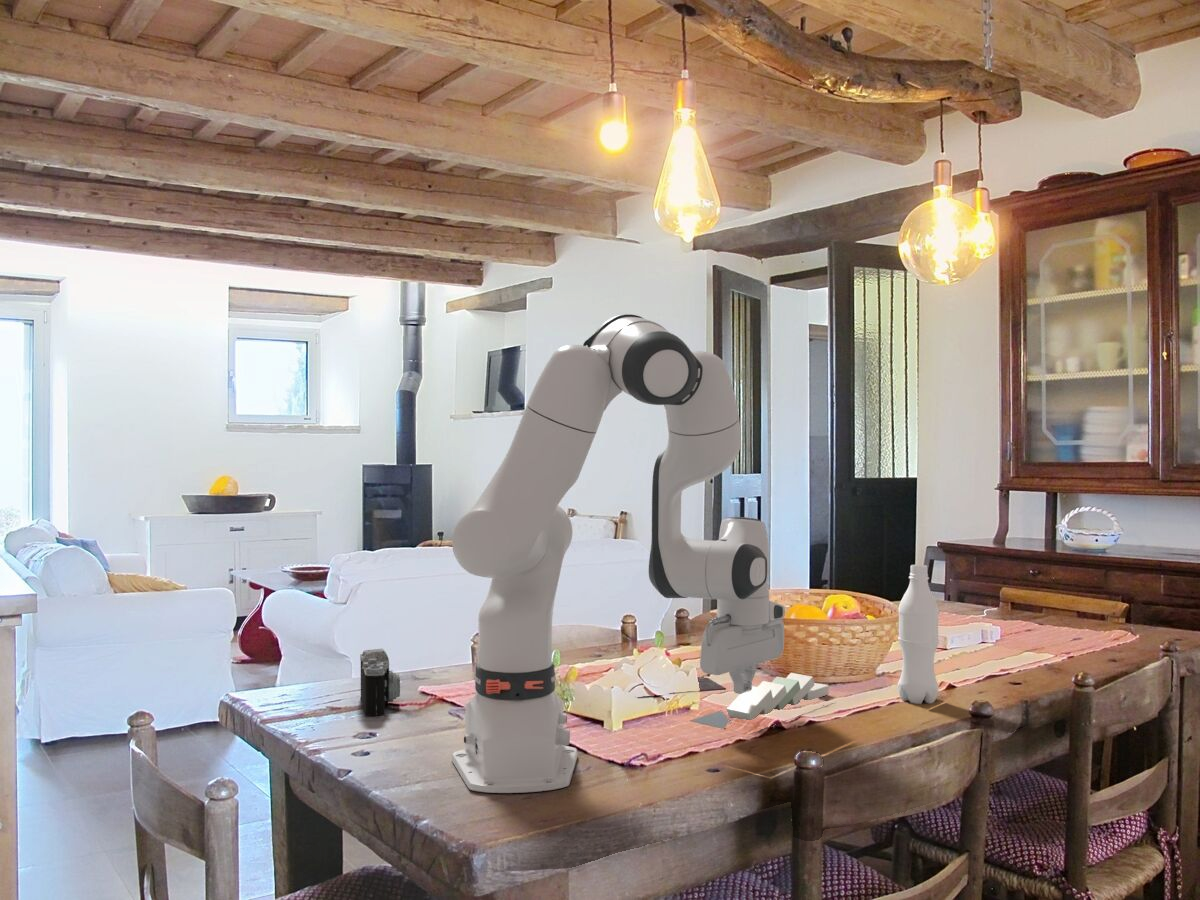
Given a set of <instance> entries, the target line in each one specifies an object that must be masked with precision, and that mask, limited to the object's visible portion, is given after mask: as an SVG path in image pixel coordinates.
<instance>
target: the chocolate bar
mask: <svg viewBox="0 0 1200 900" xmlns="http://www.w3.org/2000/svg"><path fill="white" fill-rule="evenodd" d="M697 678H698V677H697ZM698 682H699V688H700V691H699V692H708V691H722V690H726V687H725V686H723V685H720V684H719V683H717V681H714V680H712V679H710V678H709V677H699V678H698Z"/></svg>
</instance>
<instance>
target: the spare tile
mask: <svg viewBox="0 0 1200 900" xmlns="http://www.w3.org/2000/svg"><path fill="white" fill-rule="evenodd" d="M771 683H776V684H781V685H785V687H786V691H787V695H786V696H785V697H784V698H783V699H782V700H781V701H780V702H779V703H778V705H777V706H776V707H775V708H774V709H778V710H780V709H783V708H784V707H785V706H786V705H787V704H788V703H789V702H790V700H791V699H792V698H793V697H794V696H795V695H796V694H797V693H798V691H799V690H800V684H799V681H798V680H793V679H788V678H786V677H781V676H776V677H775V678H774V679H773V680H772V681H771Z"/></svg>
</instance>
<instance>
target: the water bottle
mask: <svg viewBox="0 0 1200 900" xmlns="http://www.w3.org/2000/svg"><path fill="white" fill-rule="evenodd" d="M908 579H909V584H908V587H907V589H906V591H905V592H904V594H903V596H902V598H901V600H900V601H899V604H898V610H897V611H898V637H897V641H898V644H899V646H900V649H901V653H902V655H901V656H902V667H901V668H902V669H901V674H900V678H899V680H898V681H897V690H898V693H899V697H900V699H901V700H902V701H905V702H907V701H909V702H910V704H916V705H922V703H923V701H924V702H925V704H926V703H927V704H933V703H934V702H936V699H937V697H938V694H939V683H938V681H937V678H936V673H935V662H934V661H935V654H936V651H937V648H938V647H939V644H940V640H939V615H940V608H939V606H938V603H937V601H936V598H935V596H934V595H933V593H932V591H931V589H930V585H929V579H930V577H929V574H928V565H925V564H911V565H910V572H909V576H908Z"/></svg>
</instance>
